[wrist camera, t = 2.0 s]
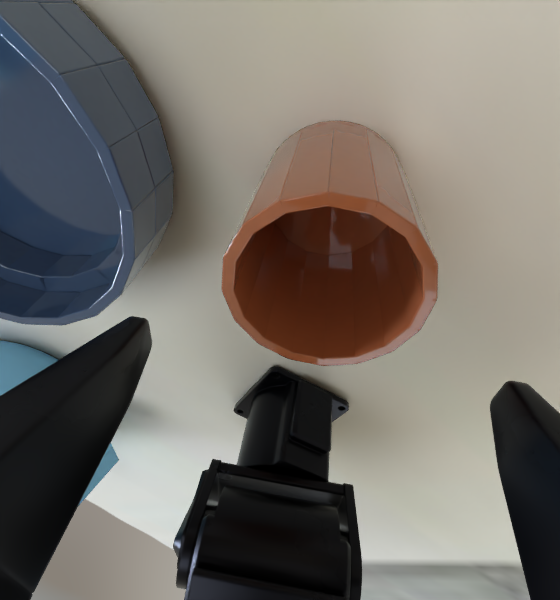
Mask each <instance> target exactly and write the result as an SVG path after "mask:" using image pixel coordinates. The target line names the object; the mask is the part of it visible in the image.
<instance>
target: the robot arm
mask: <svg viewBox="0 0 560 600" xmlns="http://www.w3.org/2000/svg"><path fill="white" fill-rule="evenodd" d="M151 347H152V339H151V333H150V327H149V323H148V320H147V319H145V318H140V317H134V316H132V317H129V318H127V319H125V320H123V321H122V322H120V323H119V324H117V325H115V326H114V327H112V328H110V329H109V330H107V331H105V332H104V333H102V334H101V335H99V336H97V337H96V338H94V339H92V340H91V341H89V342H87V343H86V344H84V345H83V346H81V347H79V348H78V349H76V350H74V351H73V352H71V353H69V354H68V355H66V356H64V357H63V358H61V359H60V360H58V361H56V362H55V363H53V364H51V365H50V366H48V367H46V368H45V369H43V370H42V371H40V372H38V373H37V374H35V375H33V376H32V377H30V378H28V379H27V380H25V381H24V382H22V383H20V384H19V385H17V386H15V387H14V388H12V389H10V390H9V391H7V392H6V393H4V394H2V395H1V396H0V600H30V599H31V597H32V593H33V592H34V591H35V589H36V587H37V585H38V583H39V581H40V579H41V577H42V575H43V573H44V571H45V569H46V567H47V565H48V563H49V562H50V560H51V558H52V556H53V554H54V552H55V550H56V548H57V546H58V544H59V542H60V540H61V538H62V536H63V534H64V532H65V530H66V528H67V526H68V524H69V522H70V520H71V518H72V517H73V515H74V512H75V511H76V509H77V507H78V505H79V503H80V501H81V499H82V497H83V495H84V493H85V491H86V489H87V487H88V485H89V483H90V482H91V480H92V478H93V476H94V474H95V472H96V470H97V468H98V466H99V464H100V462H101V460H102V458H103V456H104V454H105V452H106V450H107V448H108V446H109V444H110V442H111V441H112V439H113V437H114V435H115V433H116V431H117V429H118V427H119V425H120V423H121V421H122V419H123V417H124V415H125V413H126V411H127V409H128V407H129V405H130V403H131V401H132V398H133V396H134V393H135V390H136V388H137V385H138V382H139V380H140V377H141V374H142V372H143V369H144V366H145V364H146V361H147V358H148V356H149V353H150V350H151ZM348 409H349V403H348V402H347V401H346V400H344V399H342V398H340V397H338V396H336V395H334V394H332V393H330V392H328V391H326V390H324V389H322V388H320V387H318V386H316V385H314V384H312V383H310V382H308V381H306V380H304V379H302V378H300V377H298V376H296V375H294V374H292V373H290V372H288V371H286V370H284V369H282V368H280V367H272V368H270V369H269V370H268V371H267V372H266V373H265V375H264V376H263V377H262V378H261V379H260V380H259V381H258V382H257V383H256V384H255V385H254V386H253V387H252V388H251V389H250V390H249V391H248V392H247V393H246V394H245V395H244V396H243V397H242V398H241V399H240V401H239V402H238V403H237V404H236V405H235V408H234V412H235V413H236V414H238V415H240V416H242V417H244V418H247V423H246V428H245V432H244V436H243V440H242V445H241V449H240V453H239V458H238V462H237V465H234V464H228V463H223V462H221V460H215V459H212V462H211V465H210V467H209V469H208V470H205V471H202V475H201V478H200V481H199V485H198V488H197V491H196V494H195V497H194V499H193V502H192V504H191V506H190V508H189V510H188V512H187V514H186V516H185V518H184V520H183V522H182V524H181V527H180V529H179V531H178V533H177V535H176V537H175V540H174V544H173V548H174V550H175V553H176V555H177V557H178V563H177V569H178V571H177V580H176V586H177V587H178V588H182V589H186V593H185V598H184V600H360V598H361V586H362V559H361V548H360V540H359V532H358V524H357V515H356V507H355V499H354V490H353V485H351V484H345V483H344V484H343V485H342V484H336V483H331V482H328V475H329V451H330V450H331V432H332V422H333V421H334V420H336V419H337V418H338V417H340V416H341V415H343V414H344V413H345V412H347V411H348ZM490 412H491V420H492V427H493V435H494V442H495V450H496V457H497V463H498V469H499V474H500V478H501V482H502V486H503V490H504V494H505V498H506V502H507V506H508V510H509V514H510V518H511V522H512V526H513V530H514V535H515V539H516V543H517V547H518V551H519V555H520V559H521V563H522V567H523V571H524V575H525V579H526V583H527V587H528V591H529V595H530V599H531V600H560V413H559V412H558V411H556V410H555V409H554V408H553V407H552V406H551V405H550V404H549V403H548V402H547V401H546V400H545V399H544V398H542V397H541V396H540V395H539V394H538V393H537V392H536V391H535V390H534V389H533V388H532V387H531V386H529V385H528V384H526V383H522V382H516V381H508V382H506V383H505V384H504V385H503V386H502V388H501V389H500V390H499V391H498V393H497V394H496V395H495V396H494V398H493V399H492V401H491V404H490Z"/></svg>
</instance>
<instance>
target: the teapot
mask: <svg viewBox="0 0 560 600" xmlns="http://www.w3.org/2000/svg"><path fill="white" fill-rule="evenodd" d="M56 361H58V359H56V358H54V357H52V356H50V355H48V354H46V353H44V352H41V351H39V350H36V349H34V348H31V347H28V346H25V345H21V344H17V343H13V342H7V341H0V396H1V395H2V394H4V393H6V392H7V391H9V390H10V389H12V388H14V387H15V386H17V385H19V384H20V383H22V382H24V381H25V380H27V379H28V378H30V377H32V376H33V375H35V374H37V373H38V372H40V371H42V370H43V369H45V368H46V367H48V366H50V365H51V364H53V363H55V362H56ZM118 460H119V459H118V457H117V455H116V453H115V451H114V449H113V447H112V445H111V443H110V444H109V446H108V448H107V450H106V452H105V454H104V456H103V458H102V460H101V462H100V464H99V466H98V468H97V470H96V472H95V474H94V476H93V478H92V480H91V482H90V483H89V485H88V487H87V489H86V491H85V493H84V495H83V497H82V499H81V501H80V503H81V502H82V501H83V500H84V499H85V498H86V497H87V496H88V494H89V493H90V492H91V491H92V490H93V489H94V488H95V486H96V485H97V484H98V483H99V482H100V481H101V480H102V478H103V477H104V476H105V475H106V474H107V473H108V472H109V471H110V469H111V468H112V467H113V466H114V465H115V464H116V463H117V461H118ZM80 503H79V505H80ZM79 505H78V506H79Z"/></svg>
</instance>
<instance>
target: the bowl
mask: <svg viewBox="0 0 560 600" xmlns="http://www.w3.org/2000/svg"><path fill="white" fill-rule="evenodd" d="M173 176H174V171H173V167H172V164H171V160H170V157H169V153H168V149H167V146H166V142H165V138H164V135H163V131H162V127H161V124H160V120H159V118H158V115H157V113H156V111H155V109H154V108H153V106H152V104H151V102H150V101H149V99H148V97H147V95H146V93H145V92H144V90H143V88H142V86H141V85H140V83H139V81H138V79H137V77H136V76H135V74H134V72H133V70H132V68H131V67H130V65H129V63H128V61H127V60H126V59H124V56H123V55H122V54H121V53H120V52H119V51H118V50H117V48H116V47H115V46H114V45H113V44H112V43H111V42H110V41H109V40H108V39H107V37H106V36H105V35H104V34H103V33H102V32H101V31H100V30H99V29H98V28H97V26H96V25H95V24H94V23H93V22H92V21H91V20H90V19H89V18H88V17H87V15H86V14H85V13H84V12H83V11H82V10H81V9H80V8H79V7H78V5H77V4H75V3H74V2H73V1H72V0H0V318H1V319H5V320H9V321H13V322H17V323H21V324H34V325H66V324H70V323H73V322H77V321H80V320H83V319H87V318H90V317H94V316H96V315H98V314H99V313H101V312H102V311H103V310H104V309H105V308H106V307H108V306H109V305H110V304H111V303H112V302H113V301H114V300H116V299H117V298H118V297H119V296H120V295H121V294H122V293H123V292H124V290H125V289H126V288H127V287H128V285H129V284H130V283H131V281H132V280H133V279H134V277H135V276H136V275H137V274H138V272H139V271H140V270H141V268H142V267H143V266H144V264H145V263H146V262H147V260H148V259H149V258H150V257H151V255H152V254H153V253H154V251H155V250H156V249H157V247H158V246H159V244H160V242H161V239H162V237H163V235H164V232H165V230H166V228H167V225H168V223H169V221H170V218H171V215H172V208H173Z"/></svg>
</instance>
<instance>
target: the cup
mask: <svg viewBox="0 0 560 600" xmlns="http://www.w3.org/2000/svg"><path fill="white" fill-rule="evenodd" d="M222 292H223V295H224V297H225V299H226V302H227V304H228V306H229V309H230V311H231V313H232V316H233V318H234V320H235V321H236V322H237V323H238V324H239V325H240V326H241V327H242V328H243V329H244V330H245V331H246V332H247V333H248V334H249V335H250V336H251V337H252V338H253V339H254V340H255V341H256V342H257V343H258V344H260V345H262V346H264V347H266V348H268V349H270V350H272V351H274V352H276V353H278V354H279V355H281V356H283V357H285V358H289V359H291V360H296V361H301V362H306V363H311V364H316V365H321V366H322V365H323V366H329V365H346V364H358V363H362V362H365V361H368V360H370V359H373V358H376V357H379V356H382V355H385V354H388V353H390V352H392V351H394V350H395V349H397V348H398V347H399V346H400V345H402V344H403V343H404V342H406V341H407V340H408V339H409V338H411V337H412V336H413V335H415V334H416V333H417V332H418V331H419V330H420V329H421V328H422V326H423V324H424V322H425V321H426V319H427V317H428V315H429V313H430V312H431V310H432V308H433V306H434V304H435V303H436V301H437V295H438V263H437V259H436V256H435V254H434V251H433V248H432V246H431V243H430V240H429V237H428V235H427V232H426V229H425V226H424V224H423V221H422V218H421V215H420V213H419V210H418V207H417V205H416V202H415V199H414V196H413V194H412V191H411V188H410V185H409V183H408V180H407V177H406V174H405V172H404V170H403V168H402V166H401V164H400V162H399V160H398V157H397V155H396V154H395V152H394V151H393V149H392V148H391V146H390V145H389V144H388V143H387V142H386V141H385V140H384V139H383V138H382V137H381V136H380V135H378V134H377V133H375V132H374V131H372V130H371V129H369V128H366V127H364V126H362V125H359V124H356V123H352V122H346V121H326V122H320V123H316V124H313V125H310V126H307V127H305V128H303V129H301V130H299V131H298V132H296V133H294V134H293V135H291V136H290V137H289V138H288V139H287V140H286V141H284V142H283V143H282V145H281V146H280V147H279V148H278V149H277V150H276V152H275V154H274V155H273V157H272V158H271V160H270V162H269V164H268V166H267V168H266V169H265V171H264V173H263V175H262V177H261V179H260V181H259V183H258V185H257V187H256V189H255V192H254V194H253V196H252V198H251V200H250V202H249V204H248V206H247V208H246V210H245V212H244V214H243V217H242V219H241V221H240V223H239V225H238V227H237V229H236V231H235V233H234V235H233V237H232V239H231V242H230V244H229V246H228V248H227V250H226V252H225V254H224V257H223V271H222Z"/></svg>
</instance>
